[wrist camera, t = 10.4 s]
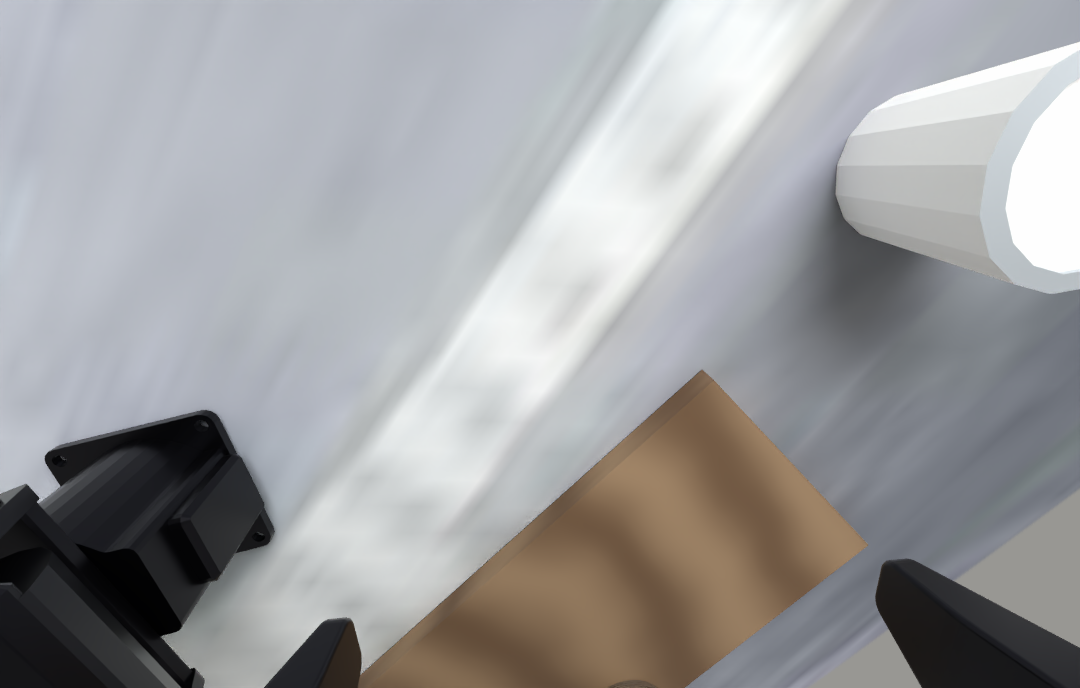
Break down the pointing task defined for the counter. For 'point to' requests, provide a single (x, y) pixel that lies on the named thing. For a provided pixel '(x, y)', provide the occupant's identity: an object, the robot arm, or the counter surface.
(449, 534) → the counter surface
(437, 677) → the serving board
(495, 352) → the counter surface
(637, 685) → the spice tin
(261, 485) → the counter surface
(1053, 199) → the white cup
